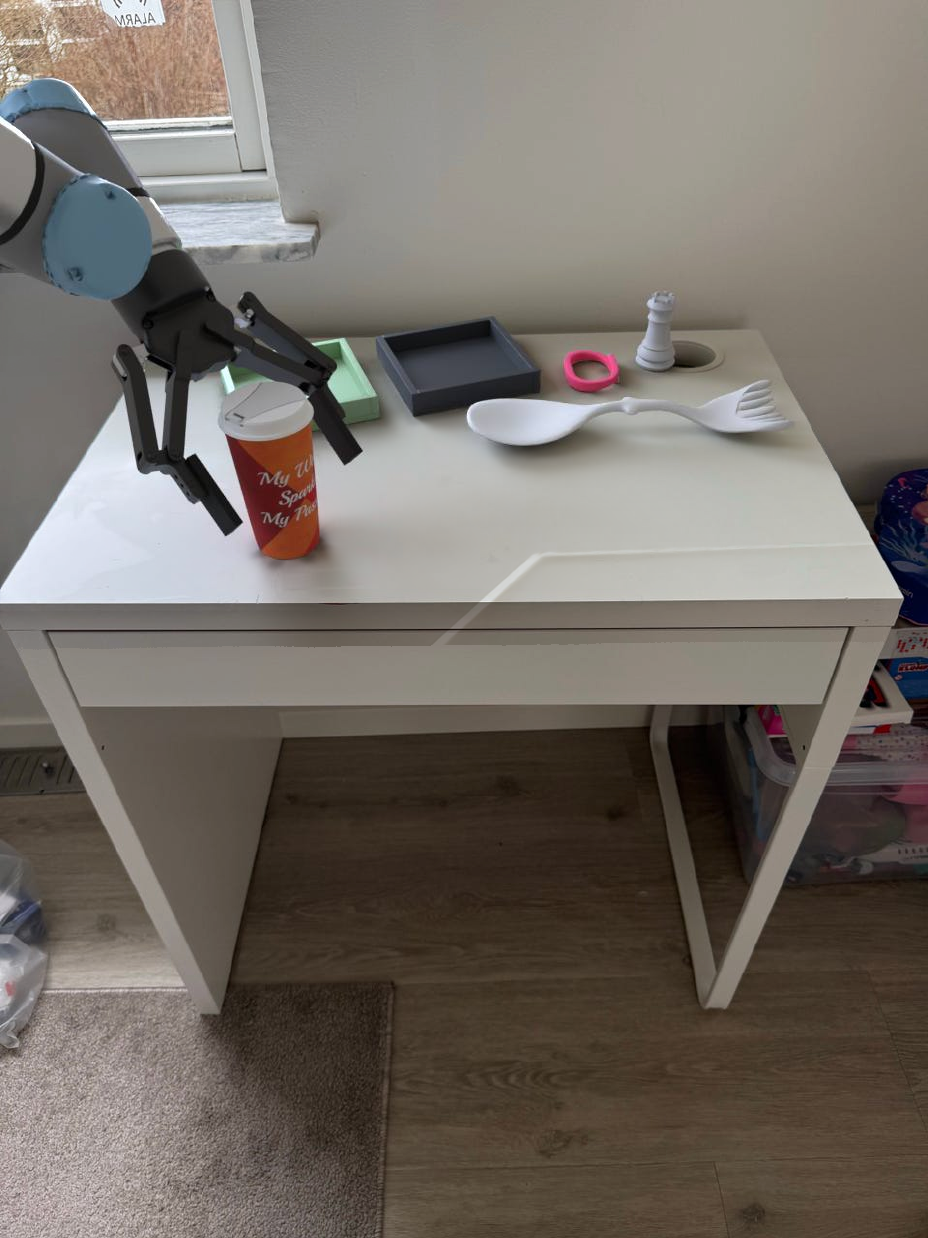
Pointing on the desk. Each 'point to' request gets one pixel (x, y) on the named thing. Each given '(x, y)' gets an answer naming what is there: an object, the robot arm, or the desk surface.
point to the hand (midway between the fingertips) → (297, 492)
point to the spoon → (556, 420)
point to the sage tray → (343, 383)
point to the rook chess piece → (658, 334)
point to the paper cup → (274, 464)
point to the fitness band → (586, 384)
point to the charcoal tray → (456, 365)
